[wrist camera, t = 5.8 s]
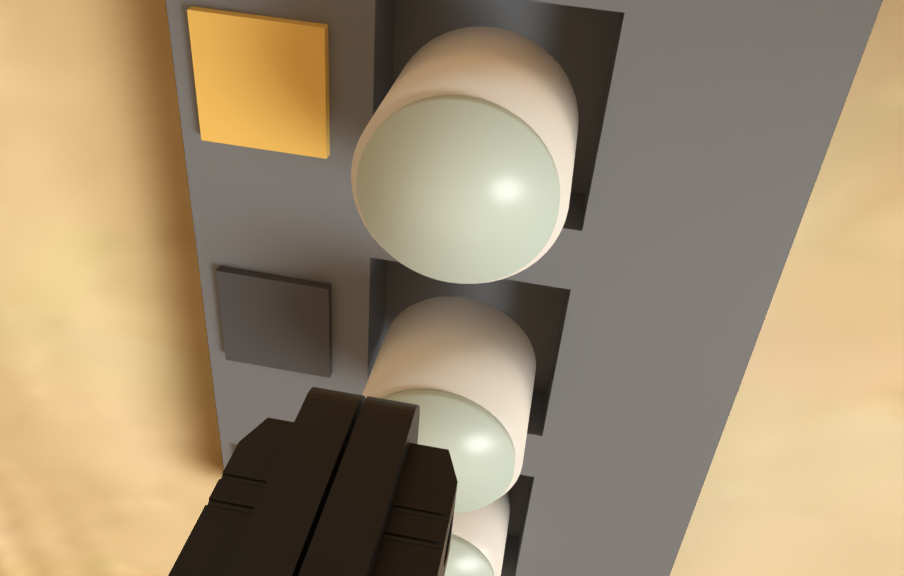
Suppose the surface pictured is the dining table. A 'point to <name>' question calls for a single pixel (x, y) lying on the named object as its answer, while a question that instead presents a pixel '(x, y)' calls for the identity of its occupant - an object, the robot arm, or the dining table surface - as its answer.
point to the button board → (561, 268)
